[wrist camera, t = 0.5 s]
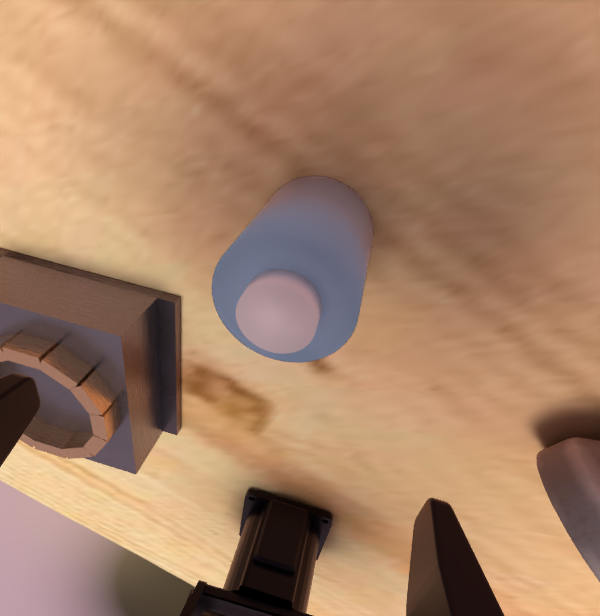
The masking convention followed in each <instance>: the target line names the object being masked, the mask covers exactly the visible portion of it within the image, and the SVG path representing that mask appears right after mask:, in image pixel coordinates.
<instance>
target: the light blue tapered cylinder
mask: <svg viewBox="0 0 600 616" xmlns="http://www.w3.org/2000/svg"><path fill="white" fill-rule="evenodd" d="M372 242H373V223H372V218H371V215H370V213H369V210H368V208H367V206H366V205H365V203H364V202H363V200H362V199H361V198H360V196H359V195H358V194H357V193H356V192H355V191H353V190H352V189H351V188H350V187H348V186H347V185H345V184H343V183H342V182H339V181H337V180H335V179H331V178H328V177H322V176H306V177H301V178H297V179H295V180H292V181H290V182H288V183H286V184H285V185H283V186H282V187H281V188H280V189H278V190H277V191H276V192H275V194H274V195H273V196H272V197H271V198H270V199H269V201H268V202H267V203H266V204H265V205H264V207H263V208H262V209H261V210H260V211H259V213H258V214H257V215H256V216H255V217H254V219H253V220H252V221H251V222H250V223H249V225H248V226H247V227H246V228H245V229H244V231H243V232H242V233H241V234H240V235H239V237H238V238H237V239H236V240H235V241H234V243H233V244H232V245H231V246H230V247H229V249H228V250H227V251H226V252H225V253H224V255H223V256H222V257H221V259H220V260H219V262H218V264H217V266H216V268H215V271H214V275H213V279H212V296H213V301H214V305H215V308H216V311H217V313H218V315H219V317H220V319H221V320H222V322H223V324H224V325H225V326H226V328H227V329H228V330H229V331H230V333H231V334H232V335H233V336H234V337H235V338H236V339H238V340H239V341H240V342H241V343H242V344H244V345H245V346H247V347H248V348H250V349H251V350H253V351H255V352H257V353H259V354H261V355H263V356H266V357H269V358H272V359H275V360H280V361H285V362H309V361H314V360H318V359H321V358H324V357H326V356H328V355H330V354H332V353H334V352H335V351H337V350H338V349H340V348H341V347H342V346H343V345H344V344H345V343H346V342H347V341H348V339H349V338H350V337H351V335H352V333H353V332H354V330H355V327H356V325H357V321H358V316H359V311H360V306H361V300H362V295H363V290H364V284H365V279H366V274H367V268H368V263H369V258H370V252H371V247H372Z"/></svg>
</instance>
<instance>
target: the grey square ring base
mask: <svg viewBox="0 0 600 616" xmlns="http://www.w3.org/2000/svg"><path fill="white" fill-rule="evenodd" d="M13 373H20V374H23V375H27V376H30V377H32V378H33V379H34V380H35V382H36V386H37V390H38V393H39V397H40V408H39V410H38V412H37V414H36V415H35V417H34V418H33V420H32V421H31V423H30V424H29V425H28V427H27V428H26V430H25V431H24V433H23V434H22V436H21V437H20V440H21V441H23V442H25V443H26V444H28V445H29V446H31V447H33V446H35V449H38V450H41V451H44V452H47V453H50V454H54V455H57V456H60V457H63V458H66V457H67V458H68V459H70V458H86V459H89V460H92V461H95V462H98V463H102V464H105V465H108V466H111V467H114V468H117V469H121V470H124V471H127V472H130V473H133V474H137V472H138V471H139V469H140V467H141V466H142V464H143V462H144V461H145V459H146V458H147V456H148V454H149V453H150V451H151V450H152V448H153V446H154V445H155V443H156V442H157V440H158V438H159V437H160V435H161V433H162V432H163V431H165V432H168V433H171V434H175V435H177V434H178V432H179V431H180V429H181V342H180V297H179V296H175V295H172V294H168V293H164V292H161V291H157V290H153V289H149V288H146V287H142V286H138V285H135V284H131V283H127V282H123V281H120V280H116V279H112V278H109V277H105V276H101V275H97V274H94V273H90V272H86V271H83V270H79V269H75V268H71V267H68V266H64V265H60V264H57V263H53V262H49V261H46V260H42V259H38V258H34V257H31V256H27V255H23V254H20V253H16V252H12V251H8V250H5V249H1V248H0V378H2V377H4V376H7V375H9V374H13Z"/></svg>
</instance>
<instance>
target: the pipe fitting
mask: <svg viewBox="0 0 600 616" xmlns="http://www.w3.org/2000/svg"><path fill="white" fill-rule="evenodd" d="M537 468H538V471H539V474H540V477H541V480H542V483H543V485H544V487H545V490H546V492H547V494H548V497H549V499H550V501H551V503H552V505H553V507H554V509H555V511H556V512H557V514H558V516H559V518H560V520H561V522H562V524H563V526H564V527H565V529H566V531H567V533H568V534H569V536H570V538H571V539H572V541H573V543H574V544H575V546H576V548H577V549H578V551H579V552H580V554H581V555H582V557H583V559H584V560H585V562H586V563H587V565H588V566H589V567H590V569H591V570H592V572H593V573H594V574H595V576H596V577H597V579H598V580H599V581H600V441H599V440H593V439H587V438H579V437H576V438H569V439H566V440H564V441H561V442H559V443H557V444H555V445H552V446H550V447H548V448H546V449H544V450H542V451H540V452H539V453H538V454H537Z"/></svg>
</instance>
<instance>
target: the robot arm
mask: <svg viewBox="0 0 600 616" xmlns="http://www.w3.org/2000/svg"><path fill="white" fill-rule="evenodd" d="M39 408H40V397H39V393H38V390H37V386H36V382H35V380H34V379H33V378H32V377H30V376H27V375H23V374H20V373H13V374H9V375H7V376H4V377H2V378H0V467H1V465H2V464H3V462H4V461H5V459H6V458H7V457H8V455H9V454H10V452H11V451H12V449H13V448H14V446H15V445H16V443H17V442H18V440H19V439H20V437H21V436H22V434H23V433H24V431H25V430H26V428H27V427H28V425H29V424H30V423H31V421H32V420H33V418H34V417H35V415H36V414H37V412H38V410H39ZM332 520H333V516H332V515H331V514H330V513H327V512H324V511H321V510H317V509H314V508H311V507H308V506H304V505H301V504H298V503H295V502H291V501H288V500H285V499H282V498H278V497H275V496H272V495H269V494H266V493H262V492H259V491H256V490H248V491H247V493H246V496H245V501H244V508H243V514H242V521H241V527H240V534H239V535H240V536H241V537H240V540H239V543H238V546H237V549H236V552H235V555H234V558H233V561H232V564H231V567H230V570H229V573H228V576H227V579H226V582H225V585H224V588H223V589H221V588H218V587H215V586H211V585H208V584H207V582H203V581H200V580H199V581H198V583H197V585H196V588H195V589H193V590H191V591H190V594H189V596H188V599H187V601H186V604H185V606H184V608H183V610H182V612H181V614H180V616H312V615H309V614H306V611H307V606H308V600H309V595H310V589H311V584H312V578H313V573H314V568H315V562H316V560H317V559H318V557H319V555H320V552H321V550H322V547H323V545H324V542H325V540H326V537H327V535H328V532H329V530H330V527H331V525H332ZM406 616H504V614H503V612H502V610H501V608H500V606H499V604H498V602H497V600H496V598H495V595H494V593H493V591H492V589H491V587H490V585H489V583H488V581H487V579H486V577H485V575H484V573H483V571H482V569H481V567H480V565H479V563H478V560H477V558H476V556H475V554H474V552H473V550H472V548H471V546H470V544H469V542H468V540H467V538H466V536H465V534H464V532H463V530H462V528H461V525H460V523H459V521H458V519H457V517H456V515H455V513H454V511H453V509H452V507H451V506H450V505H449V504H448V503H447V502H445V501H441V500H438V499H435V498H429V499H428V500H427V501H426V503H425V504H424V506H423V508H422V509H421V511H420V512H419V514H418V516H417V518H416V520H415V524H414V530H413V540H412V551H411V561H410V572H409V582H408V592H407V605H406Z"/></svg>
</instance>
